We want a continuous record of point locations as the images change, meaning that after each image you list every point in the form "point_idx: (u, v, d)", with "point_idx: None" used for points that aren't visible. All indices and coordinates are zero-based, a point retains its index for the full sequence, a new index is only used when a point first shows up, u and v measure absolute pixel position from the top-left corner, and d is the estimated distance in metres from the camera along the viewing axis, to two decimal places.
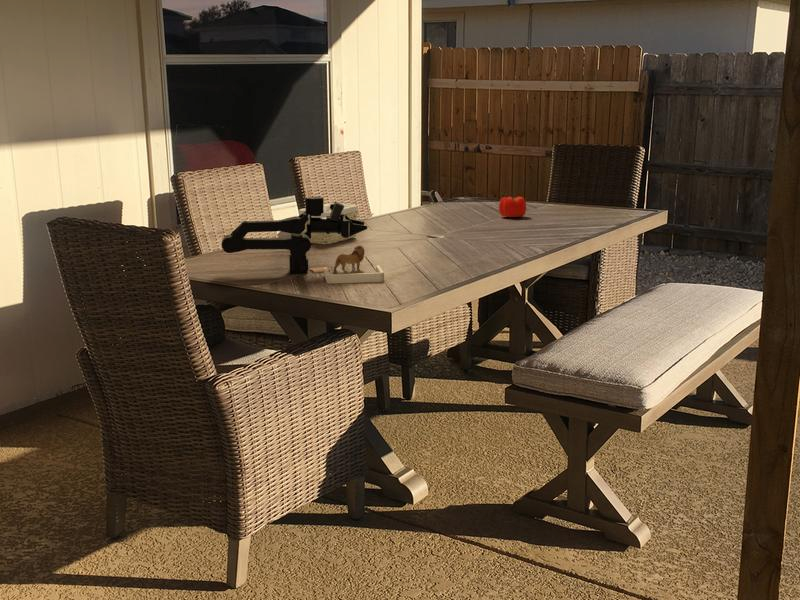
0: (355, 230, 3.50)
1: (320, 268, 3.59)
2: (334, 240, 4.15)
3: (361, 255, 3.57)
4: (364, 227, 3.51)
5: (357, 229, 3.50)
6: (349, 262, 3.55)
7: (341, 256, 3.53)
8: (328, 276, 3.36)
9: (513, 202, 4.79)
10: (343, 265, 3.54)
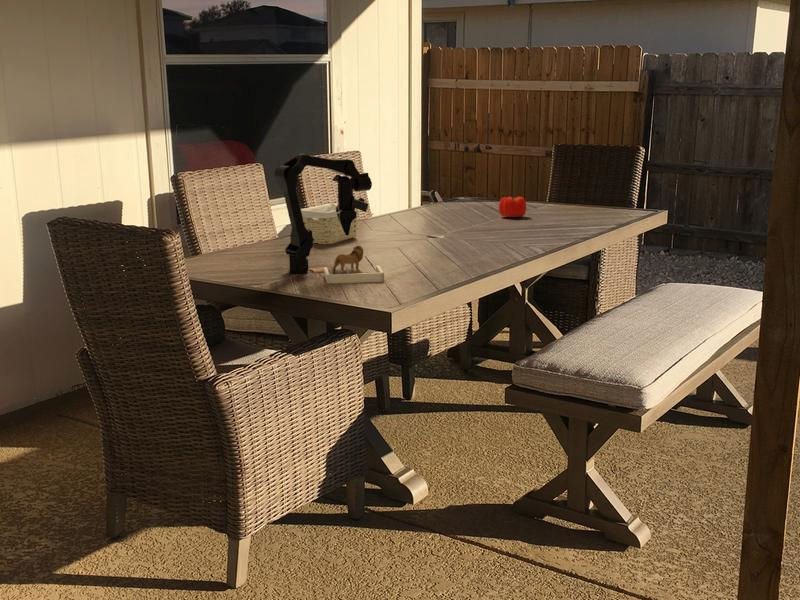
0: (344, 224, 3.60)
1: (320, 268, 3.59)
2: (334, 240, 4.15)
3: (360, 255, 3.57)
4: (347, 232, 3.62)
5: (345, 225, 3.60)
6: (348, 262, 3.55)
7: (340, 256, 3.53)
8: (328, 276, 3.36)
9: (513, 202, 4.79)
10: (342, 265, 3.53)
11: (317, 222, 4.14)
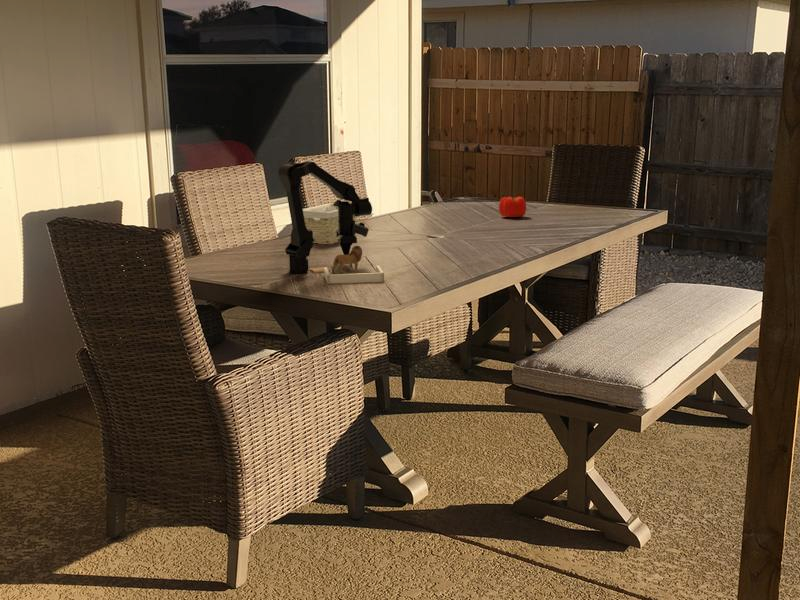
0: (344, 247, 3.65)
1: (320, 268, 3.59)
2: (335, 240, 4.15)
3: (359, 255, 3.57)
4: None
5: (345, 249, 3.66)
6: (347, 262, 3.55)
7: (339, 256, 3.53)
8: (328, 276, 3.36)
9: (513, 202, 4.79)
10: (341, 265, 3.53)
11: (318, 222, 4.14)
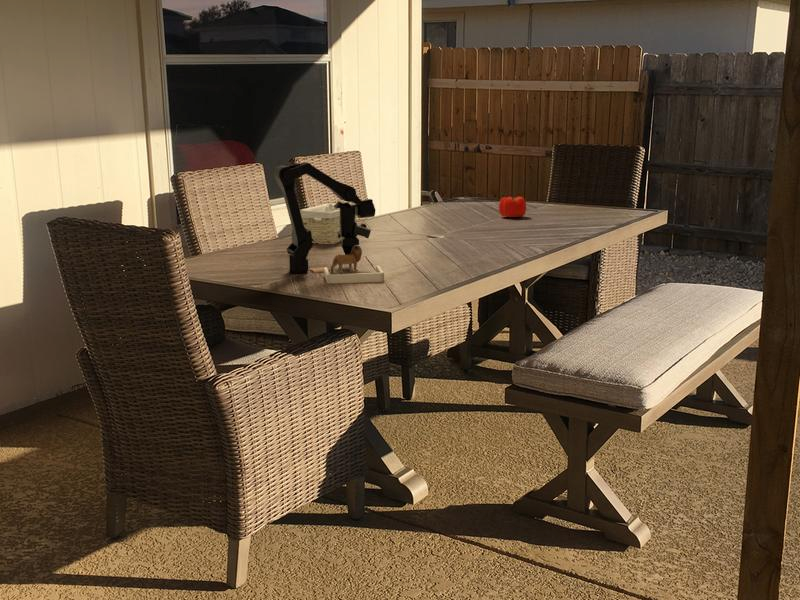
0: (346, 249, 3.61)
1: (320, 268, 3.59)
2: (337, 240, 4.15)
3: (358, 255, 3.56)
4: None
5: (347, 250, 3.61)
6: (346, 262, 3.54)
7: (338, 256, 3.52)
8: (328, 276, 3.36)
9: (513, 202, 4.79)
10: (340, 265, 3.52)
11: (319, 222, 4.14)
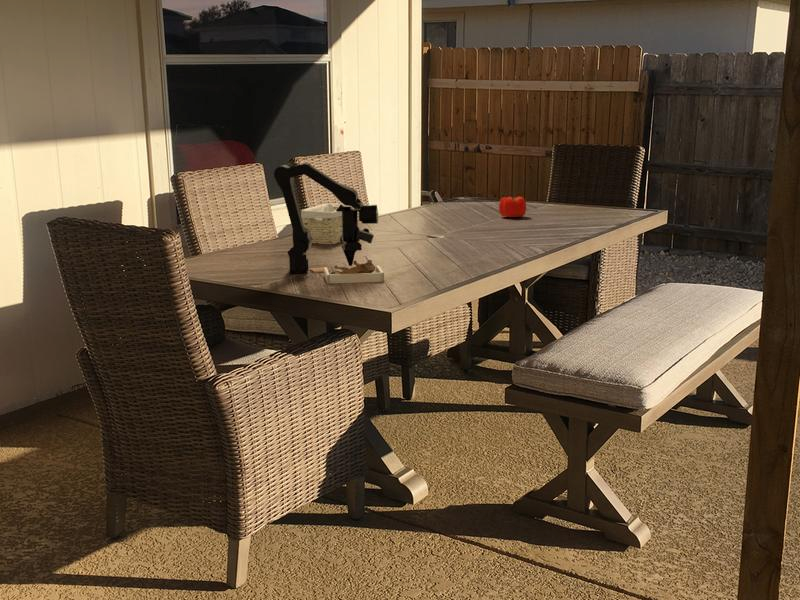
0: (348, 254, 3.51)
1: (320, 268, 3.59)
2: (338, 240, 4.16)
3: None
4: (351, 263, 3.53)
5: (349, 256, 3.52)
6: None
7: None
8: (328, 276, 3.36)
9: (513, 202, 4.79)
10: None
11: (320, 222, 4.14)
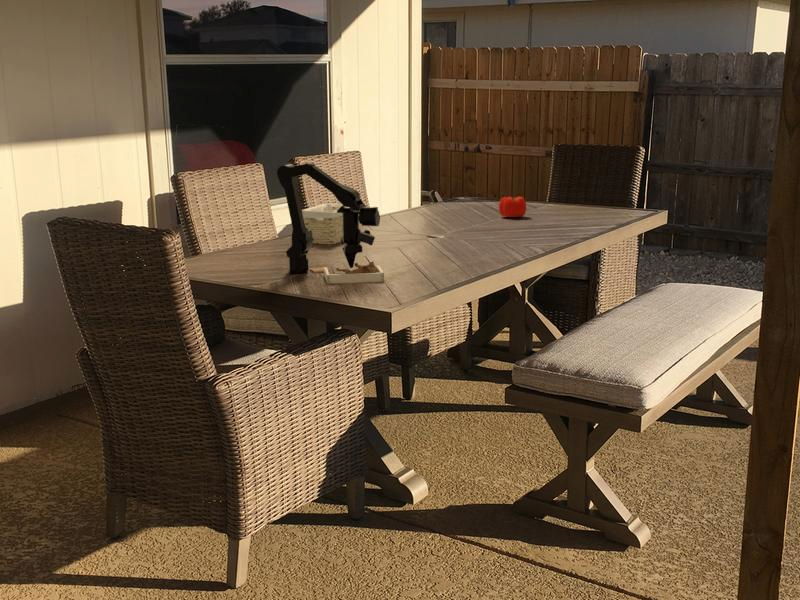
0: (349, 256, 3.48)
1: (320, 268, 3.59)
2: (339, 240, 4.16)
3: None
4: (351, 265, 3.50)
5: (350, 258, 3.48)
6: None
7: None
8: (328, 276, 3.36)
9: (513, 202, 4.79)
10: None
11: (321, 222, 4.14)
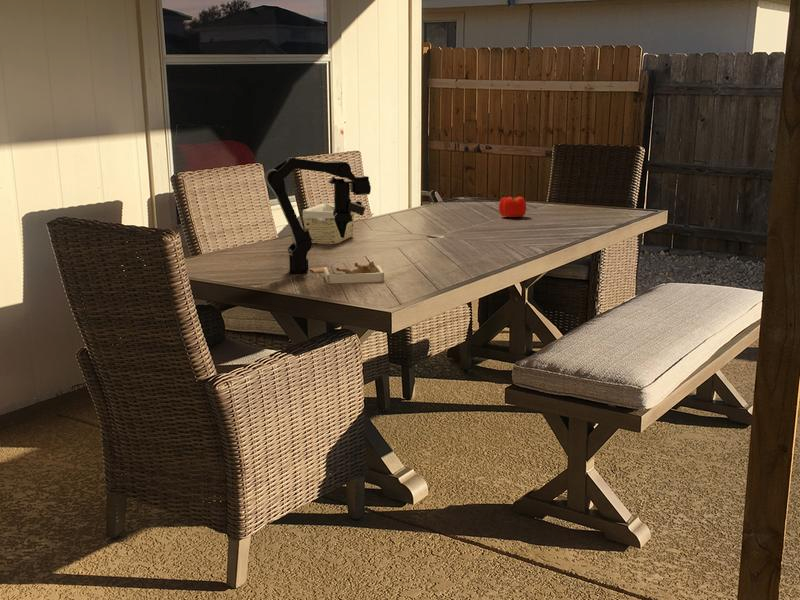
0: (340, 226, 3.56)
1: (320, 268, 3.59)
2: (340, 240, 4.16)
3: None
4: (342, 235, 3.57)
5: (341, 227, 3.56)
6: None
7: None
8: (328, 276, 3.36)
9: (513, 202, 4.79)
10: None
11: (322, 222, 4.14)
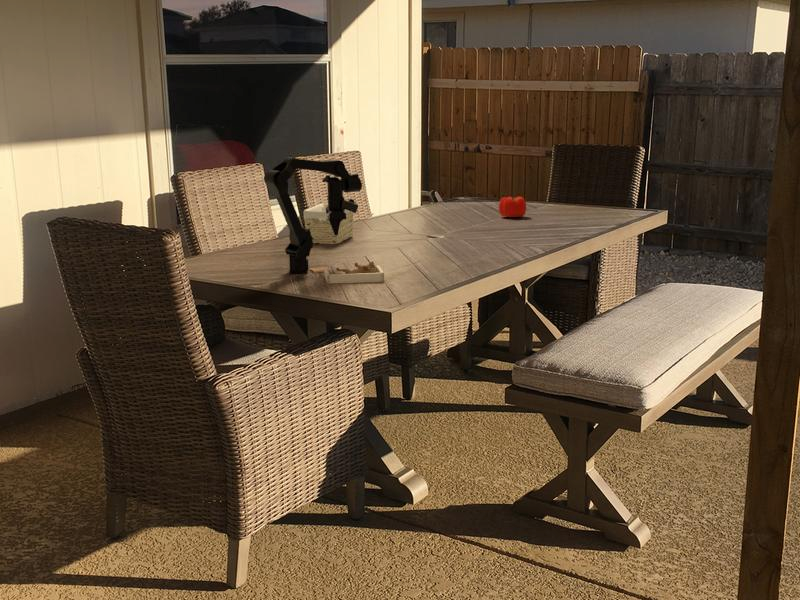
0: (333, 223, 3.61)
1: (320, 268, 3.59)
2: (341, 239, 4.16)
3: None
4: (336, 232, 3.62)
5: (334, 225, 3.61)
6: None
7: None
8: (328, 276, 3.36)
9: (513, 202, 4.79)
10: None
11: (323, 222, 4.14)
